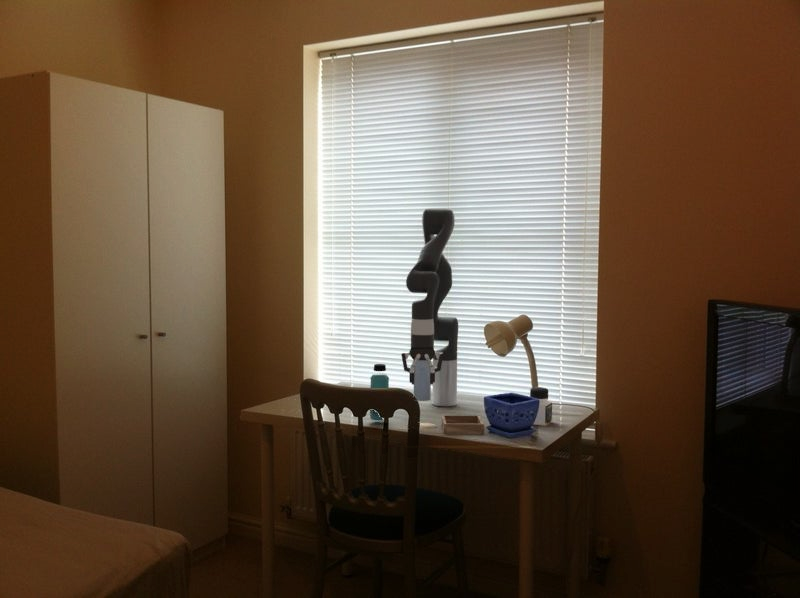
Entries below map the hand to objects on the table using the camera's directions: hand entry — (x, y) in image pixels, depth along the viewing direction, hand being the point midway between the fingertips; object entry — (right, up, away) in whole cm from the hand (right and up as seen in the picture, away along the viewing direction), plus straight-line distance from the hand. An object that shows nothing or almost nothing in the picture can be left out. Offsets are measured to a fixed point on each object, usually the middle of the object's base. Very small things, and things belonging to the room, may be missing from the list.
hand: (422, 383), depth 237 cm
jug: (0, -5, 0) cm, 5 cm away
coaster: (0, -15, +1) cm, 15 cm away
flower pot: (+28, -16, -7) cm, 33 cm away
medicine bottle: (+40, -15, +9) cm, 43 cm away
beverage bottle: (-14, -14, +8) cm, 22 cm away
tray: (+13, -15, -2) cm, 20 cm away
